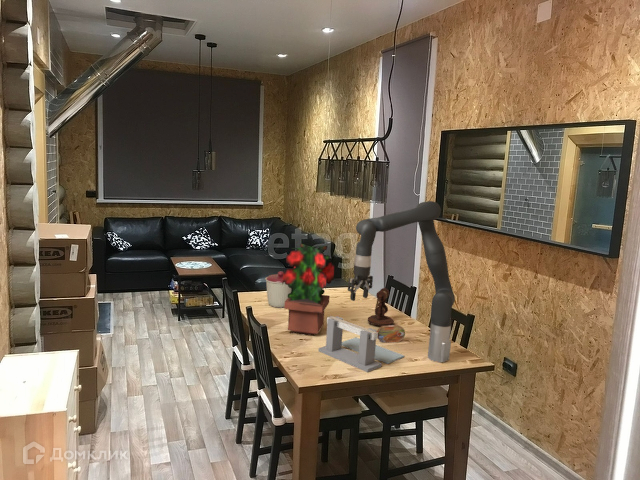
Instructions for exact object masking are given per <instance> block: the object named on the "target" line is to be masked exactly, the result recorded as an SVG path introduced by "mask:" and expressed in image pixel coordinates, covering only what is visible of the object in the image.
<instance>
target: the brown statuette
mask: <svg viewBox="0 0 640 480" xmlns="http://www.w3.org/2000/svg"><path fill="white" fill-rule="evenodd" d="M375 296H376V298H377V299H376V303H375V309H374V314H373V315H369V316H368V317H367V322H368V323H369V326H371V325H375V326H380V327H381V326H392V325H394V324H395V320H394V319H393V318H392V317H390V316H388V315H385V314H387V313H388V312H389V309H388V306H387V304H386V302H387V299H388V297H389V296H390V291H389V289H388V288H386V287H382V288H380V290H379V291H377V292H376V295H375Z"/></svg>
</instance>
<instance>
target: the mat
mask: <svg viewBox="0 0 640 480" xmlns="http://www.w3.org/2000/svg"><path fill="white" fill-rule="evenodd" d="M359 344H360V337H356V336H355V337H353V338H350V339H347V340H344V341H343V340H342V346H341V347H343V348H346V349H348V350H351V351H353V352H356V353H359ZM403 358H405V354H402V353H399V352H396V351H393V350H391V349H388V348H385V347H383V346H380V345H378V344H376V347H375V359H374V360H375V361H378V362H379V361H380V363H381V362H382V363H384V364H386V365H388V364H391V363H394V362H395V361H398V359H399V360H401V359H403Z"/></svg>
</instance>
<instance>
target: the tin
mask: <svg viewBox="0 0 640 480" xmlns="http://www.w3.org/2000/svg"><path fill="white" fill-rule="evenodd" d="M376 330H377V332H378V338H377V340H378V341H379V342H380V343H382V344H384V343H385V344H387V343H389V344H390V343H399V342H401V341H403V339H404V338H405V336H406V330H405V329H404V327H403V326H400V325H398V324H396V325H394V324H392V325H389V326H380V327H379V328H378V329H376Z"/></svg>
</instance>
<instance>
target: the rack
mask: <svg viewBox="0 0 640 480" xmlns="http://www.w3.org/2000/svg"><path fill="white" fill-rule="evenodd" d="M335 317H336V318H339V319H342V320H344V318H343V317H339V316H338V315H337V316H335ZM335 324H336V321H335V320H332V319H330V318H329V319H328V322H327V321H326V326H327V327H326V339H325V346H322V347H319V348H318V352H319V353H322V354H324V355H326V356H328V357H331V358H333V359H335V360H339V361H340V362H342V363H344V364H347V365H349V366H353V367H354V368H357V369H359V370H361V371H363V372H366V373H370V372H372V371H374V370H378V369H379V368H381V367H382V366H383V365H382V364H383V362H382V363H381V361H380V362H379V361H378V360H376V359H375V347H376V345H377V339H376V340H371V339H369V333H368V332H365V331H363V330H362V331H360V335H359V339H360V344H359V352H356V351H354V350H351V349H349V348H346V347H344V346H342V342H343V330H344V329H341V328H338V327H336V326H335ZM367 329H370V330H372V331H375V332H377V330H378V329H374V328H372V327H369V328H367Z"/></svg>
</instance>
